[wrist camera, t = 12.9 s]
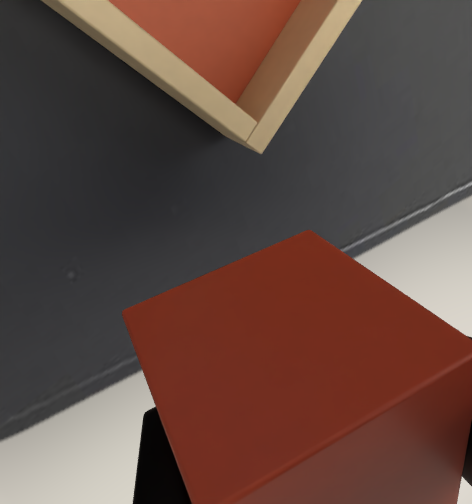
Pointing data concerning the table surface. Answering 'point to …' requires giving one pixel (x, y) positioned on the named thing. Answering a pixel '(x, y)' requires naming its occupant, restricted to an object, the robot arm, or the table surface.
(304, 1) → the sorting tray
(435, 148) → the table surface
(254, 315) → the red block
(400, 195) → the table surface
